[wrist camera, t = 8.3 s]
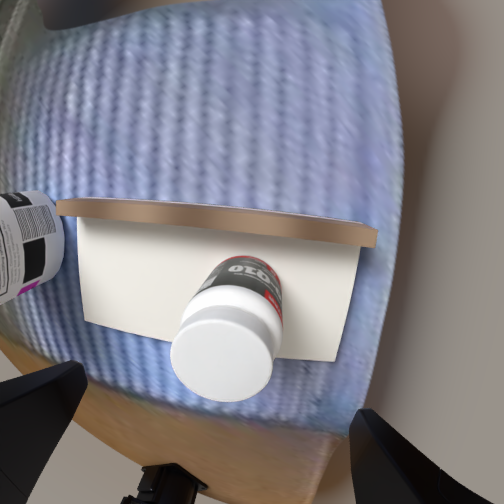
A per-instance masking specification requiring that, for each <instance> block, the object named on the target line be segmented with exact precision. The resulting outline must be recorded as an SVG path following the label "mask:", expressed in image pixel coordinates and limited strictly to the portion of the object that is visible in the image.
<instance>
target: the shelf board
mask: <svg viewBox="0 0 504 504" xmlns="http://www.w3.org/2000/svg"><path fill="white" fill-rule="evenodd" d="M56 215H60V216H73V217H77V241H78V262H79V275H80V286H81V295H82V303H83V311H84V318H85V321H88V322H91V323H95V324H98V325H102V326H106V327H109V328H113V329H117V330H121V331H125V332H129V333H133V334H137V335H142V336H146V337H150V338H155V339H160V340H165V341H169V342H173V340H174V338H175V336H176V335H177V333H178V331H179V328H180V321H181V317H182V314H183V312H184V310H185V308H186V306H187V305H188V303H189V301H190V300H191V299H192V297H193V296H194V295H195V294H196V292H197V291H198V289H199V288H200V287H201V286H202V284H203V283H204V281H205V280H206V279H207V278H208V276H209V275H210V273H211V272H212V271H213V269H214V268H215V267H216V266H217V265H218V264H220V263H221V262H222V261H224V260H226V259H228V258H230V257H233V256H238V255H249V256H254V257H257V258H259V259H261V260H263V261H265V262H266V263H268V264H269V265H270V266H271V267H272V268H273V269H274V271H275V272H276V274H277V275H278V277H279V280H280V283H281V288H282V315H283V339H282V344H281V348H280V350H279V353H278V355H277V356H276V357H277V358H287V359H300V360H314V361H333V362H334V361H335V358H336V354H337V351H338V347H339V343H340V340H341V336H342V332H343V328H344V324H345V320H346V316H347V312H348V308H349V303H350V299H351V294H352V290H353V285H354V280H355V275H356V270H357V265H358V259H359V254H360V248H361V246H363V247H370V248H375V245H376V239H377V233H378V230H377V229H374V228H372V227H370V226H368V225H365V224H363V223H361V222H357V221H350V220H343V219H336V218H329V217H321V216H314V215H306V214H298V213H289V212H281V211H272V210H263V209H254V208H244V207H234V206H223V205H212V204H200V203H188V202H174V201H160V200H143V199H125V198H103V197H81V198H72V199H64V200H56Z"/></svg>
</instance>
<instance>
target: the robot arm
mask: <svg viewBox="0 0 504 504" xmlns="http://www.w3.org/2000/svg"><path fill="white" fill-rule="evenodd" d="M87 385H88V381H87V377H86V373H85V369H84V366H83V364H82V363H80V362H78V361H75V360H70V361H67V362H64V363H61V364H58V365H55V366H52V367H49V368H45V369H42V370H39V371H36V372H33V373H30V374H26V375H23V376H20V377H17V378H13V379H10V380H6V381H3V382H0V504H26V502H27V500H28V497H29V496H30V494H31V492H32V490H33V488H34V486H35V484H36V482H37V480H38V478H39V476H40V474H41V473H42V471H43V469H44V467H45V465H46V463H47V462H48V460H49V458H50V456H51V454H52V453H53V451H54V449H55V447H56V446H57V444H58V442H59V440H60V439H61V437H62V435H63V434H64V432H65V430H66V428H67V427H68V425H69V423H70V422H71V420H72V418H73V416H74V414H75V412H76V410H77V407H78V405H79V403H80V401H81V399H82V397H83V395H84V393H85V390H86V388H87ZM349 438H350V459H351V473H352V480H353V486H354V493H355V499H356V504H493V503H491V502H490V501H488V500H486V499H484V498H483V497H481V496H479V495H478V494H476V493H474V492H473V491H471V490H469V489H468V488H466V487H465V486H463V485H462V484H460V483H458V482H457V481H456V480H455V479H453V478H452V477H451V476H449V475H448V474H447V473H446V472H445V471H443V470H442V469H440V467H438V466H437V465H436V464H435V463H434V462H432V461H431V460H430V459H429V458H427V457H426V456H425V455H424V454H423V453H422V452H420V451H419V450H418V449H417V448H416V447H415V446H413V445H412V444H411V443H410V442H409V441H408V440H406V439H405V438H404V437H403V436H402V435H401V434H400V433H398V432H397V431H396V430H395V429H394V428H393V427H391V426H390V425H389V424H388V423H387V422H386V421H385V420H384V419H383V418H381V417H380V416H379V415H378V414H377V413H376V412H375V411H374V410H372V409H371V408H360V409H358V410H357V412H356V414H355V416H354V418H353V420H352V423H351V425H350V428H349ZM141 470H142V471H143V472H144V474H143V477H142V479H141V481H140V483H139V486H138V488H137V490H138V491H139V493H138V495H137V498H134V497H133V496H131V495H129V496H128V497H123V499H122V502H121V504H194V502H195V499H196V495H197V491H202V490H207V486H206V485H205V484H203V483H202V482H200V481H199V480H197V479H196V478H195V477H193V476H192V475H190V474H189V473H188V472H186V471H185V470H184V469H182V468H181V467H180V466H178V465H177V464H175V463H170V464H163V465H155V466H146V467H142V469H141Z"/></svg>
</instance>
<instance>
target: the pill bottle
mask: <svg viewBox="0 0 504 504" xmlns="http://www.w3.org/2000/svg"><path fill="white" fill-rule="evenodd" d="M282 339H283V315H282V288H281V283H280V280H279V277H278V275H277V274H276V272H275V271H274V269H273V268H272V267H271V266H270V265H269V264H268V263H266V262H265V261H263V260H261V259H259V258H257V257H254V256H249V255H238V256H233V257H230V258H228V259H226V260H224V261H222V262H221V263H220V264H218V265H217V266H216V267H215V268H214V269H213V271H212V272H211V273H210V275H209V276H208V278H207V279H206V280H205V281H204V283H203V284H202V286H201V287H200V288H199V289H198V291H197V292H196V294H195V295H194V296H193V297H192V299H191V300H190V301H189V303H188V305H187V306H186V308H185V310H184V312H183V314H182V317H181V321H180V328H179V331H178V333H177V335H176V336H175V338H174V340H173V342H172V345H171V351H170V358H171V364H172V367H173V369H174V372H175V373H176V375H177V377H178V378H179V379H180V381H181V382H182V383H183V384H184V385H185V386H186V387H187V388H189V389H190V390H191V391H193V392H194V393H196V394H198V395H200V396H202V397H204V398H207V399H210V400H214V401H219V402H236V401H242V400H245V399H248V398H250V397H252V396H254V395H256V394H257V393H259V392H260V391H261V390H262V389H263V388H264V387H265V386H266V385H267V383H268V381H269V380H270V377H271V374H272V370H273V360H274V359H275V358H276V356H277V355H278V353H279V350H280V348H281V344H282Z"/></svg>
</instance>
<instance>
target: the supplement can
mask: <svg viewBox="0 0 504 504" xmlns="http://www.w3.org/2000/svg"><path fill="white" fill-rule="evenodd" d="M64 242H65V236H64V230H63V223H62V221H61V218H60V216H59V215H56V206H55V205H54V204H53V203H52V201H51V200H50V199H49V197H48V196H47V195H45V194H44V193H42V192H40V191H38V190H36V191H24V192H15V193H6V194H0V305H1V304H3V303H5V302H7V301H9V300H10V299H12V298H14V297H16V296H18V295H20V294H22V293H24V292H26V291H28V290H30V289H32V288H34V287H36V286H38V285H40V284H42V283H44V282H46V281H48V280H50V279H52V278H53V277H54V276H55V275H56V273H57V272H58V271H59V270H60V266H61V263H62V260H63V257H64Z"/></svg>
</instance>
